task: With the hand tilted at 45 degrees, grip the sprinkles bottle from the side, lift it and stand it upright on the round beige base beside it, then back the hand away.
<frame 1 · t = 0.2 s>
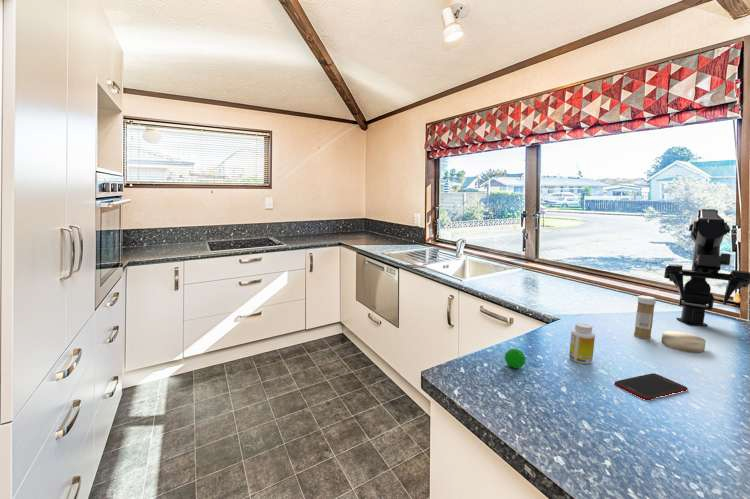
hand: (703, 301, 103), 15 cm above the countertop, tool tilted 35°, fingers open, 9 cm apart
green ball: (514, 367, 92), on the countertop
sprinkles bottle: (641, 337, 114), on the countertop
round beige base: (682, 346, 107), on the countertop
supplement bottle: (580, 360, 96), on the countertop
cell phone: (650, 389, 83), on the countertop
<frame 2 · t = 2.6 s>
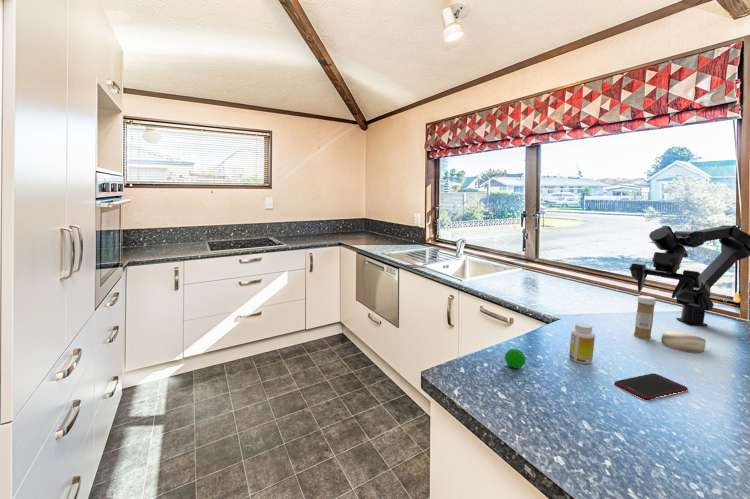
hand: (655, 294, 116), 13 cm above the countertop, tool tilted 45°, fingers open, 9 cm apart
nothing on the countertop moved.
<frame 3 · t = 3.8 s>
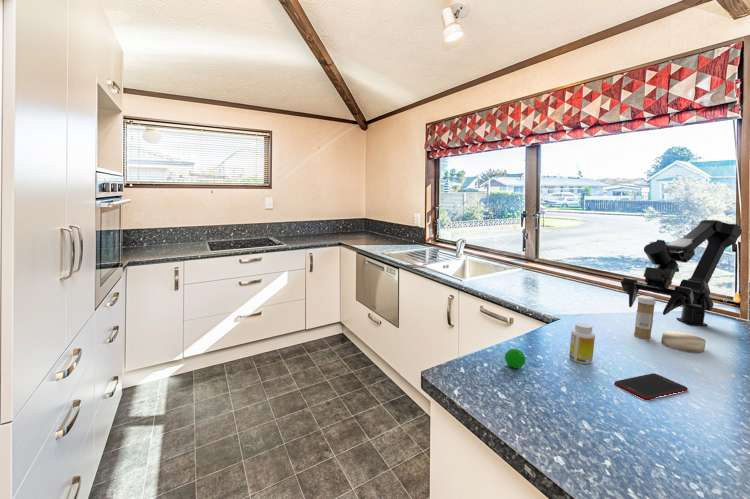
hand: (646, 310, 113), 9 cm above the countertop, tool tilted 45°, fingers open, 9 cm apart
nothing on the countertop moved.
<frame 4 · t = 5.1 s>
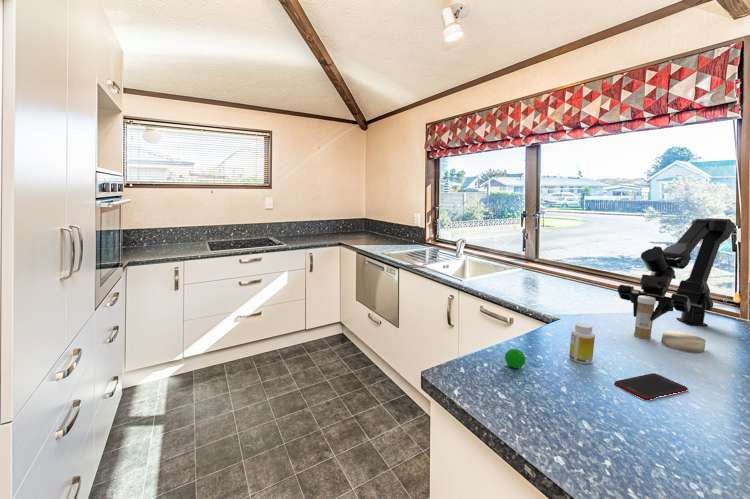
hand: (642, 318, 112), 7 cm above the countertop, tool tilted 45°, fingers closed on sprinkles bottle, 4 cm apart
sprinkles bottle: (641, 337, 114), on the countertop, touching gripper
everything else where it was.
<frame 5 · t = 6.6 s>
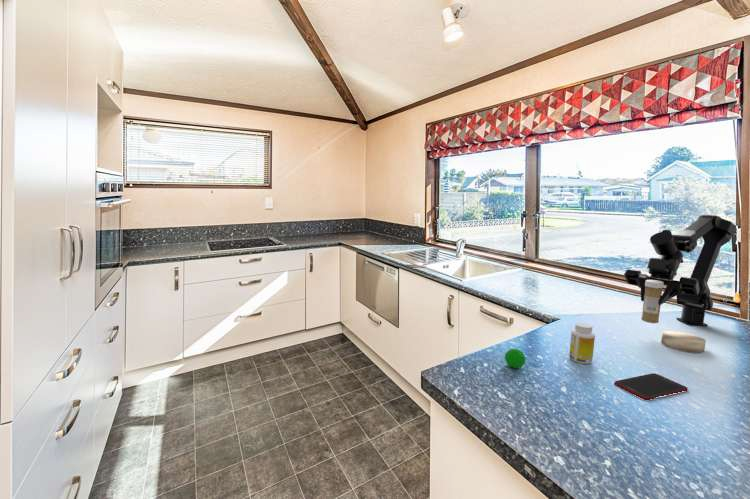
hand: (650, 302, 111), 12 cm above the countertop, tool tilted 45°, fingers closed on sprinkles bottle, 4 cm apart
sprinkles bottle: (649, 321, 112), point 5 cm above the countertop, touching gripper
everything else where it was.
when the fingers open (10 cm above the countertop, at t = 8.0 s): sprinkles bottle stays where it is, resting on round beige base.
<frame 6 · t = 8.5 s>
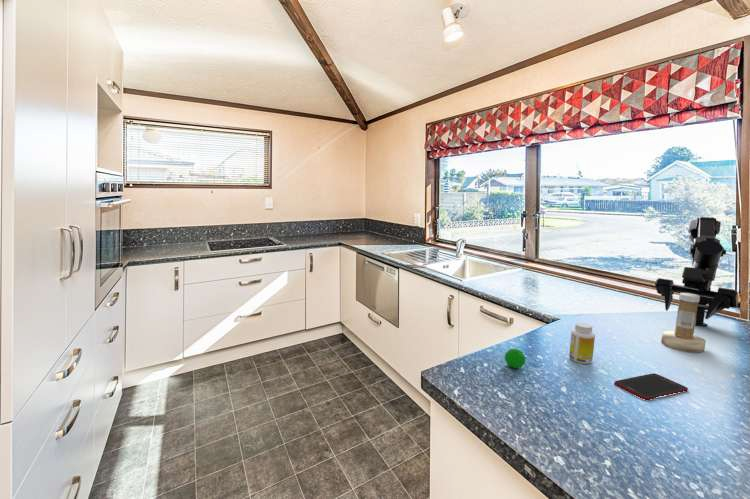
hand: (685, 313, 104), 11 cm above the countertop, tool tilted 45°, fingers open, 9 cm apart
sprinkles bottle: (683, 337, 106), point 3 cm above the countertop, touching round beige base
everything else where it was.
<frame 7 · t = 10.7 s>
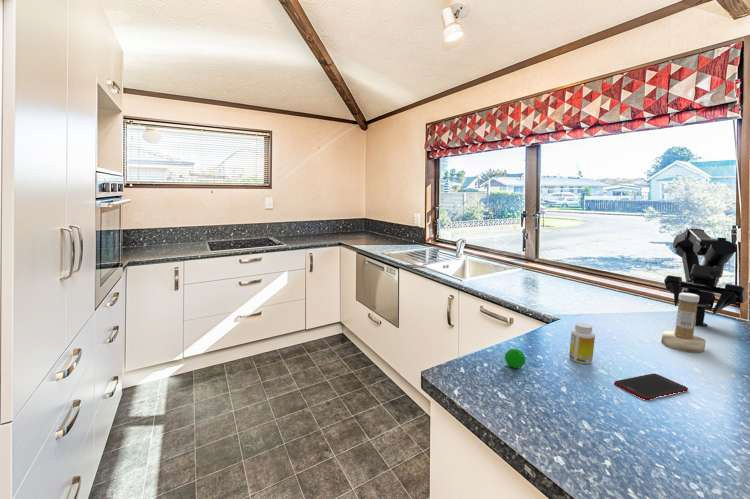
hand: (693, 309, 109), 10 cm above the countertop, tool tilted 45°, fingers open, 9 cm apart
nothing on the countertop moved.
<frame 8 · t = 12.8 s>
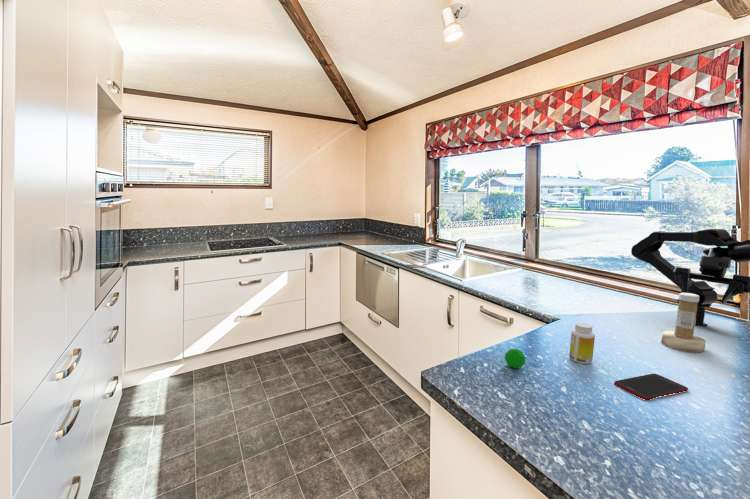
hand: (702, 299, 114), 13 cm above the countertop, tool tilted 45°, fingers open, 9 cm apart
nothing on the countertop moved.
at the end: sprinkles bottle 0.2 cm off-centre on the round beige base, point 2.8 cm above the round beige base's base; sprinkles bottle tilted 0°; the gripper is holding nothing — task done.
